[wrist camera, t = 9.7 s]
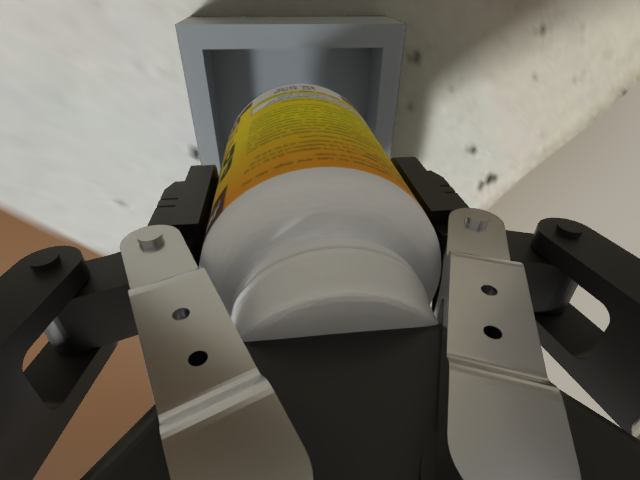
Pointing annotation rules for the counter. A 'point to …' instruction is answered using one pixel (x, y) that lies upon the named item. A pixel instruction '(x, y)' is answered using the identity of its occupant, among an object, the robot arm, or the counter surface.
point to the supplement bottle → (316, 224)
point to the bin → (288, 68)
